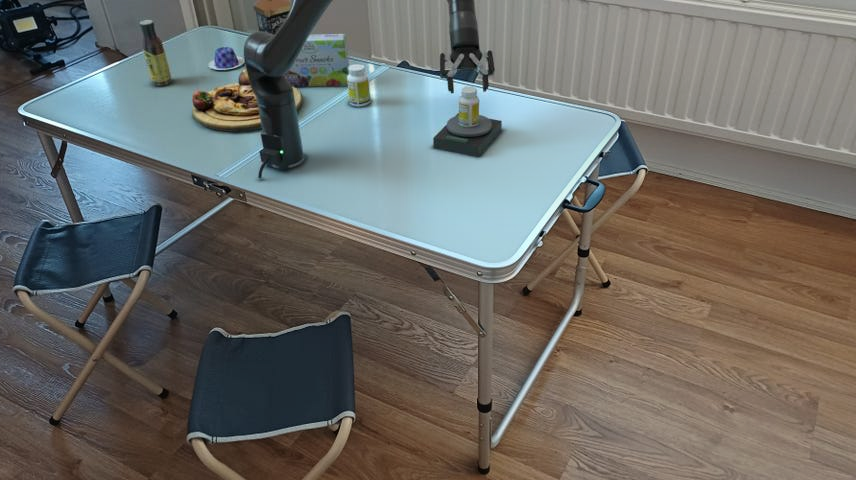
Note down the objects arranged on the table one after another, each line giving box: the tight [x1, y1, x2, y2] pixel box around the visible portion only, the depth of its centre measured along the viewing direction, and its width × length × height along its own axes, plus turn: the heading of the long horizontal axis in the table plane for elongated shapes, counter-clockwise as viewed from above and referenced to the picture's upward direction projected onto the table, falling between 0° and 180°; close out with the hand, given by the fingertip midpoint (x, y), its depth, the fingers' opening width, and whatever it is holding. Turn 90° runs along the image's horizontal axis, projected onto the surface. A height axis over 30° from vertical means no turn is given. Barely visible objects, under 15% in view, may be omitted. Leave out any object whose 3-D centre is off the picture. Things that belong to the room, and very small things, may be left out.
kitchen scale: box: [432, 112, 503, 158], centre depth 194 cm, size 16×13×4 cm
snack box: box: [284, 33, 350, 88], centre depth 224 cm, size 21×6×15 cm, turn 89°
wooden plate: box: [191, 69, 303, 132], centre depth 213 cm, size 32×32×8 cm
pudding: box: [208, 46, 245, 71], centre depth 242 cm, size 12×12×5 cm
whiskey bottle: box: [252, 0, 292, 35], centre depth 233 cm, size 10×10×32 cm
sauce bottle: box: [139, 19, 172, 87], centre depth 227 cm, size 7×6×20 cm
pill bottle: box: [347, 63, 371, 108], centre depth 213 cm, size 6×6×11 cm
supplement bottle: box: [458, 86, 480, 127], centre depth 191 cm, size 5×5×10 cm
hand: (468, 91), depth 189 cm, fingers open, 8 cm apart
